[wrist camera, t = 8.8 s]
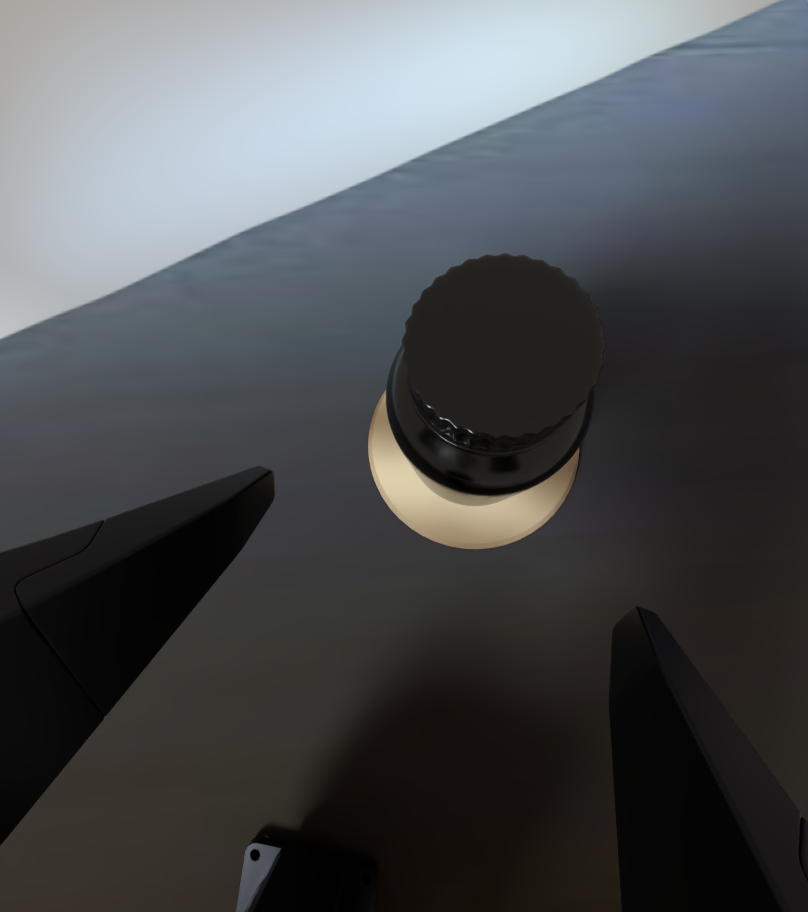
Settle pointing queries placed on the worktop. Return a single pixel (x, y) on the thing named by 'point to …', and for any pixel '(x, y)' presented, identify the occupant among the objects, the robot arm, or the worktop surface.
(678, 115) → the worktop surface
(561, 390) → the supplement bottle
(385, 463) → the coaster
